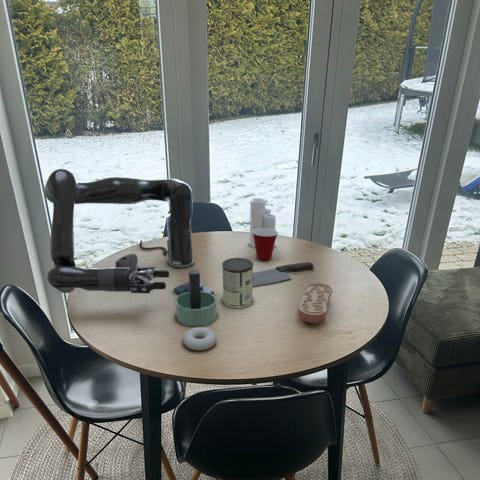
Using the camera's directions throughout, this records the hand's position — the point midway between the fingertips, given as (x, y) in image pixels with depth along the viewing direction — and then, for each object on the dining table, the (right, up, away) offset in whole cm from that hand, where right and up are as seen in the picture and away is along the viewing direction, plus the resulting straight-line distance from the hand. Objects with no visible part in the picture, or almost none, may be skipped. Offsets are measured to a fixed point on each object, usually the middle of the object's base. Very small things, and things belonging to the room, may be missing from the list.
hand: (167, 279), depth 148 cm
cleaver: (+39, +4, +35) cm, 52 cm away
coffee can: (+22, -6, +16) cm, 28 cm away
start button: (+6, -1, +19) cm, 20 cm away
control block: (+6, -3, +21) cm, 22 cm away
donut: (+11, -20, -7) cm, 24 cm away
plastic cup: (+33, +13, +49) cm, 61 cm away
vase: (+33, +21, +63) cm, 74 cm away
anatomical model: (+47, -10, +10) cm, 49 cm away
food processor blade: (+9, -11, +6) cm, 15 cm away
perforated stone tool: (-21, +6, +36) cm, 42 cm away
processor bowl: (+9, -11, +7) cm, 16 cm away
